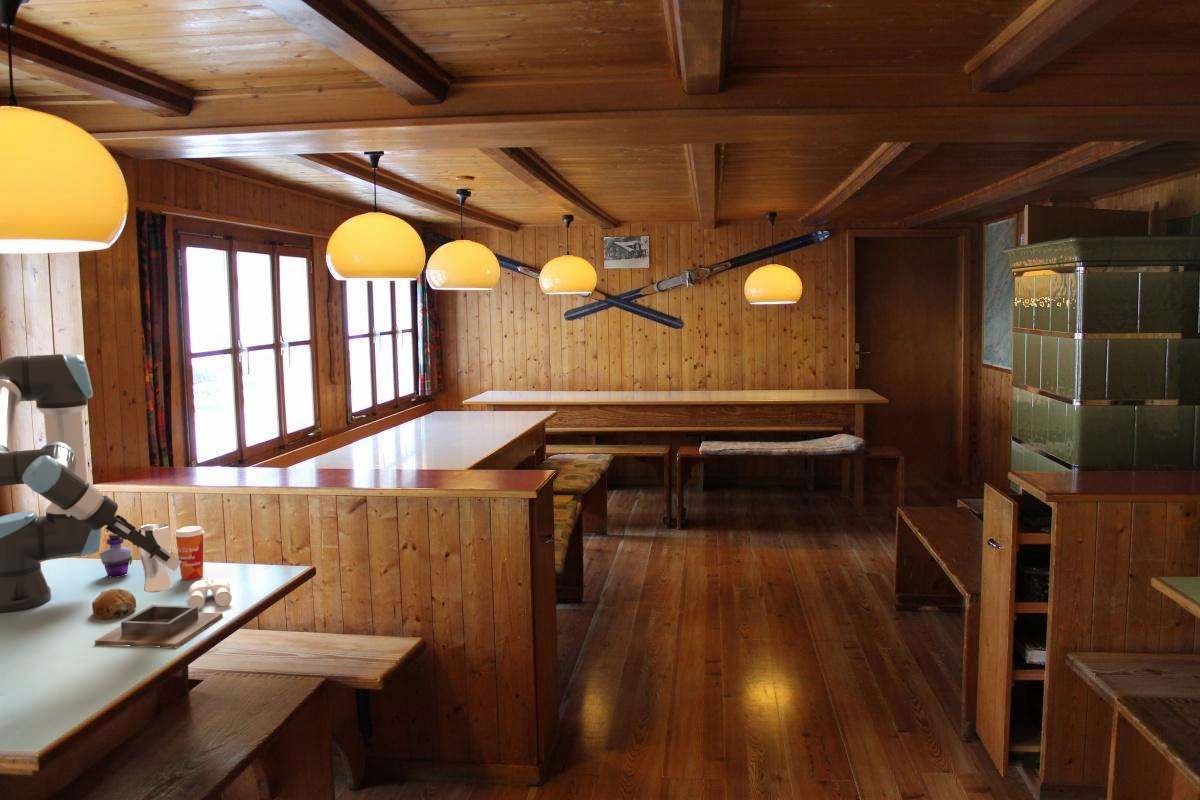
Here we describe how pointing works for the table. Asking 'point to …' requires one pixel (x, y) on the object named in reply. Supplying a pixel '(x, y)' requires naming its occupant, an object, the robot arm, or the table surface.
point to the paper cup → (190, 551)
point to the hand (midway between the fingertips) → (172, 562)
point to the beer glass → (154, 569)
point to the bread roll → (113, 604)
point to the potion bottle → (116, 557)
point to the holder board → (160, 627)
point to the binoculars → (217, 587)
